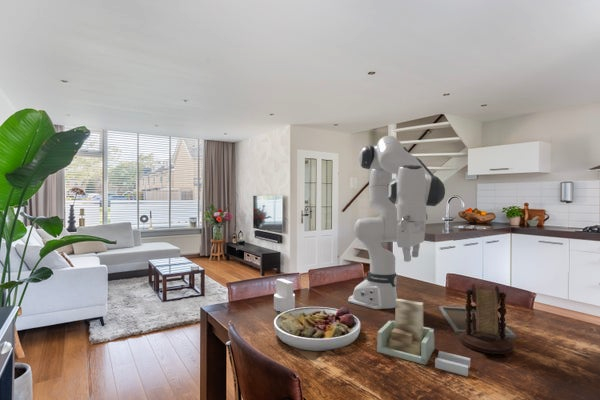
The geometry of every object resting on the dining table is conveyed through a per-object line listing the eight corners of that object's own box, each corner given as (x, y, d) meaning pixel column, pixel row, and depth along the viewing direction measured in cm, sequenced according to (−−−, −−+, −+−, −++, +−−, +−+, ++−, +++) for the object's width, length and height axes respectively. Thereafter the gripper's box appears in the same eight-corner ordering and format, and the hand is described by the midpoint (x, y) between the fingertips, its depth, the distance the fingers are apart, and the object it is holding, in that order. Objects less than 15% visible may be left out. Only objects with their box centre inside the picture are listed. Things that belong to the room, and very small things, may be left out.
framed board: (456, 330, 114) (437, 303, 144) (456, 335, 114) (437, 307, 144) (516, 335, 110) (485, 306, 140) (516, 340, 110) (485, 310, 140)
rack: (377, 355, 99) (377, 332, 98) (389, 340, 109) (389, 319, 109) (425, 368, 91) (425, 343, 91) (434, 351, 101) (434, 329, 101)
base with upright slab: (269, 308, 141) (270, 280, 141) (286, 304, 146) (287, 277, 146) (281, 313, 134) (281, 284, 134) (299, 309, 139) (299, 281, 139)
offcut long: (389, 348, 100) (389, 339, 100) (392, 345, 103) (392, 335, 103) (419, 356, 96) (419, 346, 96) (422, 352, 98) (422, 342, 98)
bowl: (304, 365, 93) (304, 338, 93) (259, 329, 118) (259, 307, 118) (379, 341, 109) (379, 317, 109) (325, 314, 134) (325, 295, 134)
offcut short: (391, 339, 100) (391, 331, 100) (394, 336, 103) (394, 328, 103) (411, 344, 97) (411, 335, 97) (413, 340, 99) (413, 332, 99)
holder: (435, 371, 89) (435, 359, 89) (439, 361, 94) (439, 350, 94) (467, 380, 85) (467, 367, 85) (470, 369, 90) (470, 358, 90)
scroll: (462, 354, 99) (462, 288, 99) (457, 335, 113) (457, 277, 113) (518, 362, 94) (519, 293, 94) (506, 341, 108) (506, 281, 108)
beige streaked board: (395, 344, 104) (395, 300, 103) (397, 341, 106) (397, 298, 106) (421, 350, 99) (421, 305, 99) (423, 347, 101) (423, 302, 101)
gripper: (413, 216, 93) (413, 265, 92) (428, 214, 110) (428, 255, 110) (391, 216, 96) (391, 263, 96) (409, 214, 113) (409, 254, 113)
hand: (411, 259), depth 103 cm, fingers open, 8 cm apart
